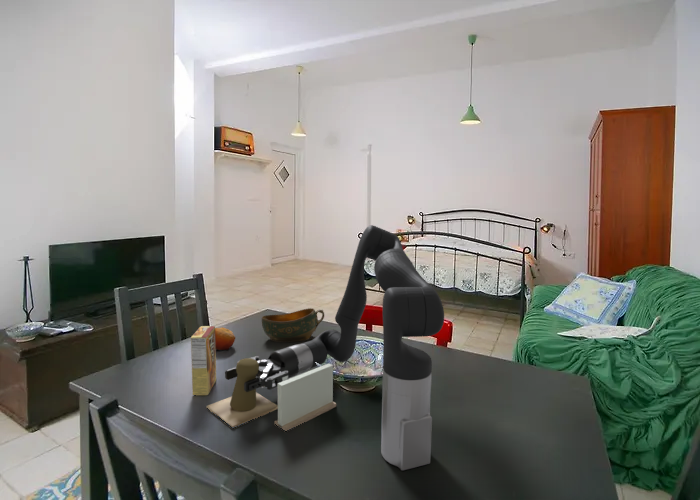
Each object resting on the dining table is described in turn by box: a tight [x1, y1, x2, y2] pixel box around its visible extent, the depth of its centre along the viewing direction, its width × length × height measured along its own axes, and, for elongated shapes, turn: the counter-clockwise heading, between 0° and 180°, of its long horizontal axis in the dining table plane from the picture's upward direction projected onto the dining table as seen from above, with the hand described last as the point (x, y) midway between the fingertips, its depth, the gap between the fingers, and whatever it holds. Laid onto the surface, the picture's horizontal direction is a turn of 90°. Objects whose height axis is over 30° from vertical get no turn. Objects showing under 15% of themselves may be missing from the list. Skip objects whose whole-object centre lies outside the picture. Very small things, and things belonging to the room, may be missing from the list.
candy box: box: [190, 325, 217, 396], centre depth 104 cm, size 9×4×15 cm, turn 6°
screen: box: [274, 363, 337, 432], centre depth 92 cm, size 15×4×10 cm, turn 136°
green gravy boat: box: [261, 307, 325, 343], centre depth 142 cm, size 13×20×10 cm, turn 74°
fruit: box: [215, 327, 236, 351], centre depth 132 cm, size 8×8×8 cm
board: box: [206, 392, 278, 428], centre depth 95 cm, size 12×12×1 cm
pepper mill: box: [230, 357, 259, 411], centre depth 94 cm, size 6×6×11 cm
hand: (235, 381), depth 93 cm, fingers open, 8 cm apart
